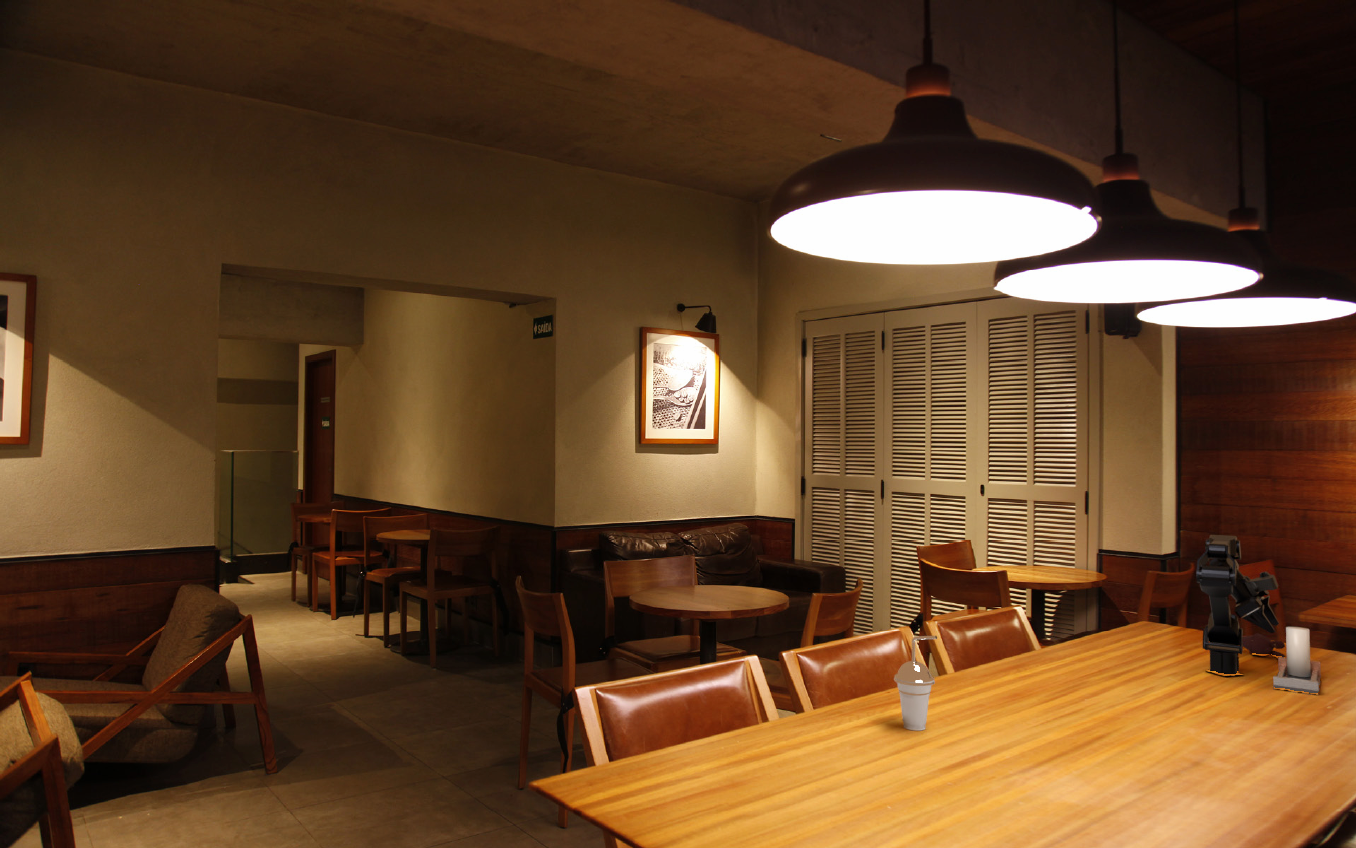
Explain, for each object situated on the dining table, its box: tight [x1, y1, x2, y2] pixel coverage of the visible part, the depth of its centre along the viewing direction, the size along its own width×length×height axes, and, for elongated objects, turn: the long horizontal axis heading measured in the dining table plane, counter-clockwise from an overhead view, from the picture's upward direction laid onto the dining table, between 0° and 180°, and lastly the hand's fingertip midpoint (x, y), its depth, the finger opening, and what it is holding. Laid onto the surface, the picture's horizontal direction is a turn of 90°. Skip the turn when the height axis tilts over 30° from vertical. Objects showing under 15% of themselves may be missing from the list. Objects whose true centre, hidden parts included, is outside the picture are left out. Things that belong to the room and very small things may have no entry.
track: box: [1272, 657, 1322, 693], centre depth 221 cm, size 21×9×4 cm, turn 142°
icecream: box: [1243, 632, 1286, 657], centre depth 253 cm, size 7×7×15 cm
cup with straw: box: [893, 635, 938, 732], centre depth 183 cm, size 8×9×20 cm
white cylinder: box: [1285, 626, 1311, 677], centre depth 226 cm, size 5×5×12 cm
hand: (1275, 628), depth 230 cm, fingers open, 9 cm apart
